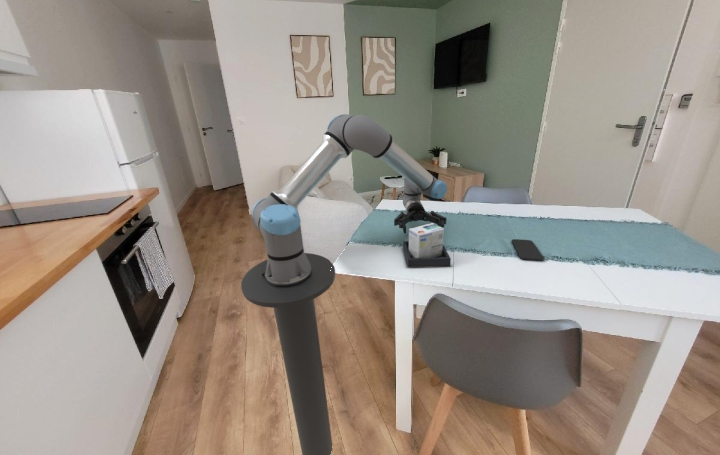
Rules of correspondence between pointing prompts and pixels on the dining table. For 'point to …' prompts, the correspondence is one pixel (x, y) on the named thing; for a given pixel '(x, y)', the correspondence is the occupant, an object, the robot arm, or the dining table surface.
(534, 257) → the phone
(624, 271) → the dining table surface
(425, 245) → the light bulb box
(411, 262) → the pad
